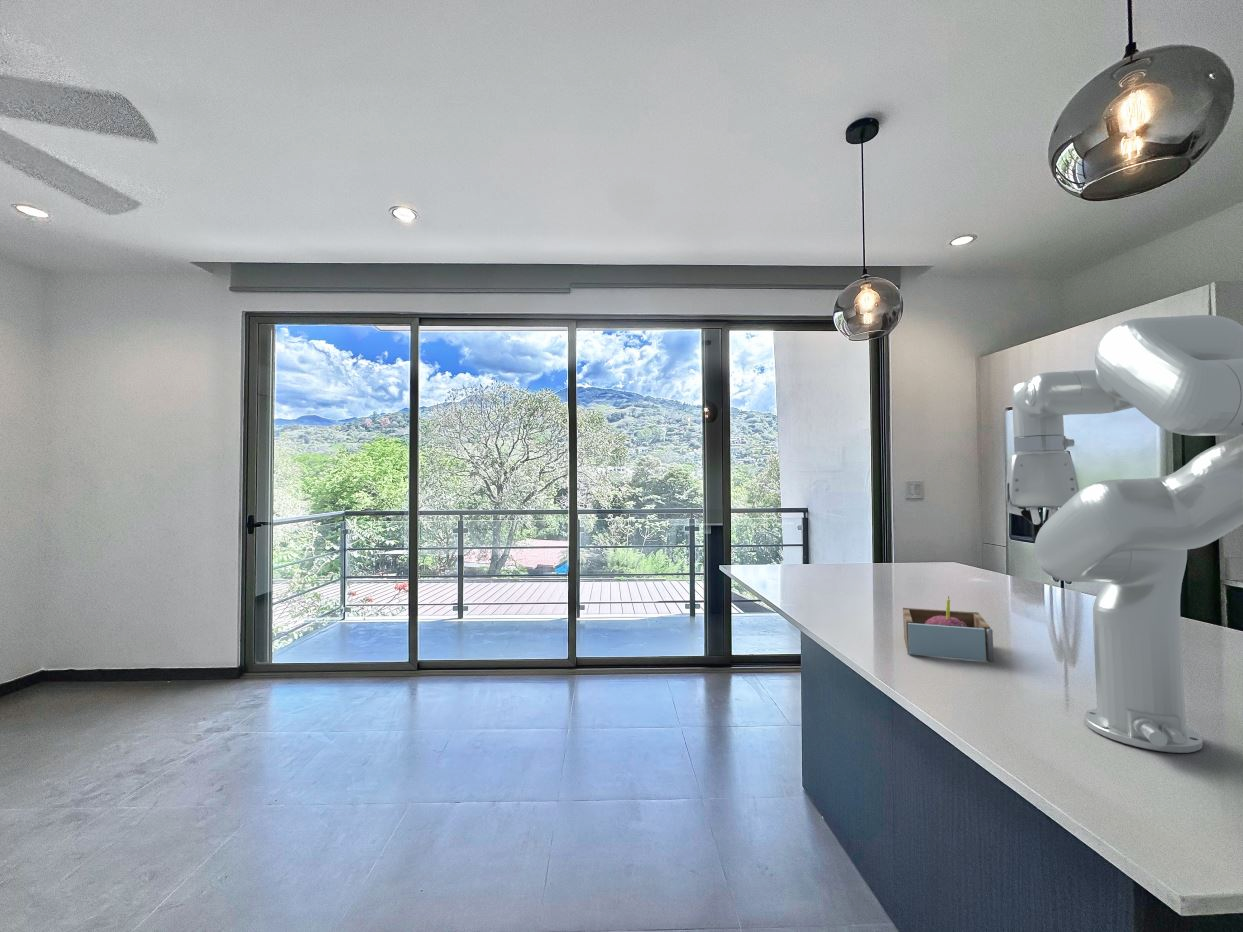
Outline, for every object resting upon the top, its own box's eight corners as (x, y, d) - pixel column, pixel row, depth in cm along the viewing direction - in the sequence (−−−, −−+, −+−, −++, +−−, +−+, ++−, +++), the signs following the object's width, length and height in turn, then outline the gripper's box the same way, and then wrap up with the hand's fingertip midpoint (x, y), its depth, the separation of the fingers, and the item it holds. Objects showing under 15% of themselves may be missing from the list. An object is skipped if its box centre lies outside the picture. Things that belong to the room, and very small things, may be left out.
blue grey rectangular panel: (994, 662, 113) (992, 630, 113) (909, 653, 119) (907, 623, 119) (993, 660, 114) (991, 629, 114) (908, 652, 120) (907, 622, 120)
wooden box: (991, 661, 114) (990, 627, 114) (907, 654, 120) (906, 621, 121) (979, 643, 127) (978, 612, 127) (904, 637, 133) (902, 607, 133)
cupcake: (977, 654, 119) (974, 598, 119) (935, 654, 120) (933, 598, 120) (957, 642, 128) (955, 590, 128) (918, 642, 129) (916, 590, 129)
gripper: (1082, 446, 104) (1086, 544, 103) (987, 449, 110) (991, 542, 109) (1097, 443, 97) (1102, 549, 96) (995, 447, 103) (999, 547, 102)
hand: (1043, 545), depth 103 cm, fingers closed
